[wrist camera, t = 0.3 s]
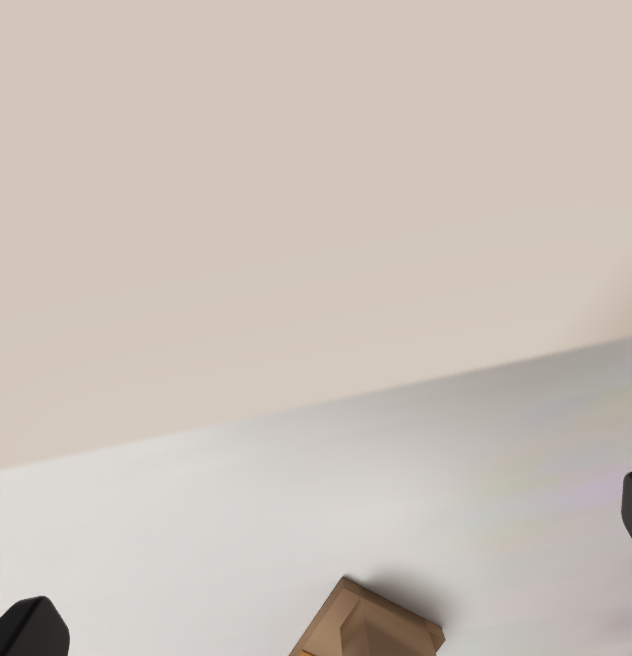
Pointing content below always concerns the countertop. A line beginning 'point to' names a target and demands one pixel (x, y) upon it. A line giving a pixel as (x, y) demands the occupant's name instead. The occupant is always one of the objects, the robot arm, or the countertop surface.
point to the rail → (367, 627)
